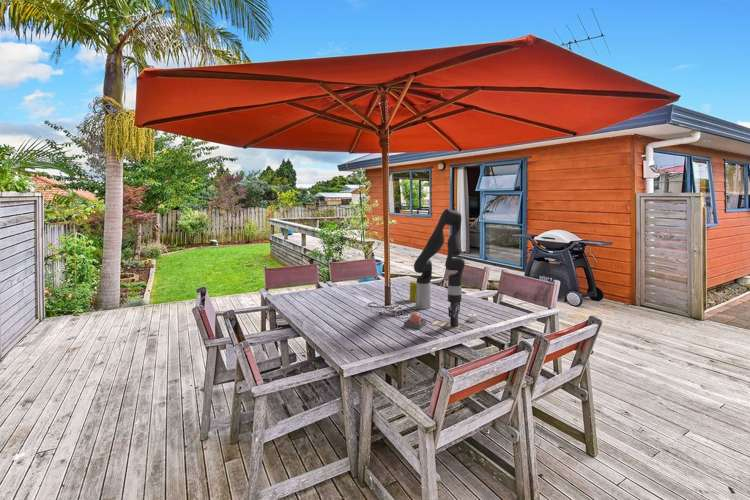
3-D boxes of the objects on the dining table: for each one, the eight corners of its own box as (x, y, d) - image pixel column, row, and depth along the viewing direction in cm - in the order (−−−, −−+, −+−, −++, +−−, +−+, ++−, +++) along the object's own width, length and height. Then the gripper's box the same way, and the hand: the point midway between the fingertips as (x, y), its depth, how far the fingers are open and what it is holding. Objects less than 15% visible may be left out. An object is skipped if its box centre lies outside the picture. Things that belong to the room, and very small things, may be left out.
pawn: (449, 326, 209) (449, 313, 208) (451, 323, 212) (451, 311, 211) (456, 327, 206) (456, 314, 205) (459, 325, 210) (459, 312, 209)
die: (468, 323, 217) (469, 315, 216) (468, 321, 221) (468, 313, 220) (476, 323, 216) (476, 316, 215) (476, 321, 220) (476, 313, 219)
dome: (407, 324, 210) (407, 313, 209) (412, 321, 215) (412, 311, 214) (418, 325, 206) (418, 315, 206) (422, 322, 212) (422, 312, 211)
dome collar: (404, 328, 209) (403, 321, 209) (411, 323, 217) (411, 317, 217) (419, 331, 204) (419, 324, 204) (426, 326, 213) (426, 319, 212)
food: (408, 303, 267) (413, 301, 276) (424, 301, 262) (428, 298, 271) (404, 283, 267) (408, 281, 276) (419, 280, 262) (423, 278, 272)
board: (428, 326, 212) (428, 324, 212) (434, 321, 221) (434, 319, 221) (459, 331, 203) (459, 329, 203) (464, 326, 212) (464, 324, 211)
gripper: (457, 296, 199) (456, 327, 201) (465, 291, 211) (464, 319, 214) (443, 295, 203) (443, 324, 205) (452, 289, 215) (452, 318, 217)
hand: (454, 322), depth 209 cm, fingers open, 5 cm apart
